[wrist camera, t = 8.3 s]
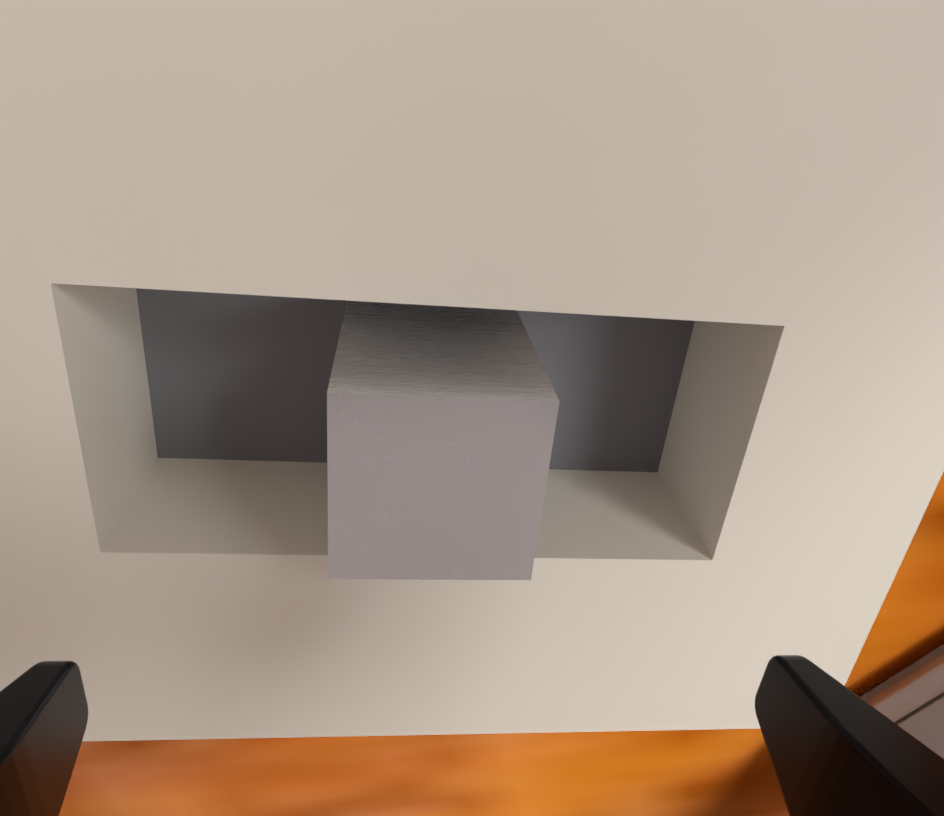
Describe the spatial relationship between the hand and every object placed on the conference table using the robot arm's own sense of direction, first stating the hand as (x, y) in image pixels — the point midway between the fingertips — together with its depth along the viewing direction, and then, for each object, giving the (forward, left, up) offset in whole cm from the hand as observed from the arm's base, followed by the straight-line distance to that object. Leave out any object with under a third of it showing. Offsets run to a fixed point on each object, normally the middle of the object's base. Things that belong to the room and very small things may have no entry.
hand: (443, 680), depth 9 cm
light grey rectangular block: (0, 0, -10) cm, 10 cm away
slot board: (0, 0, -11) cm, 11 cm away
